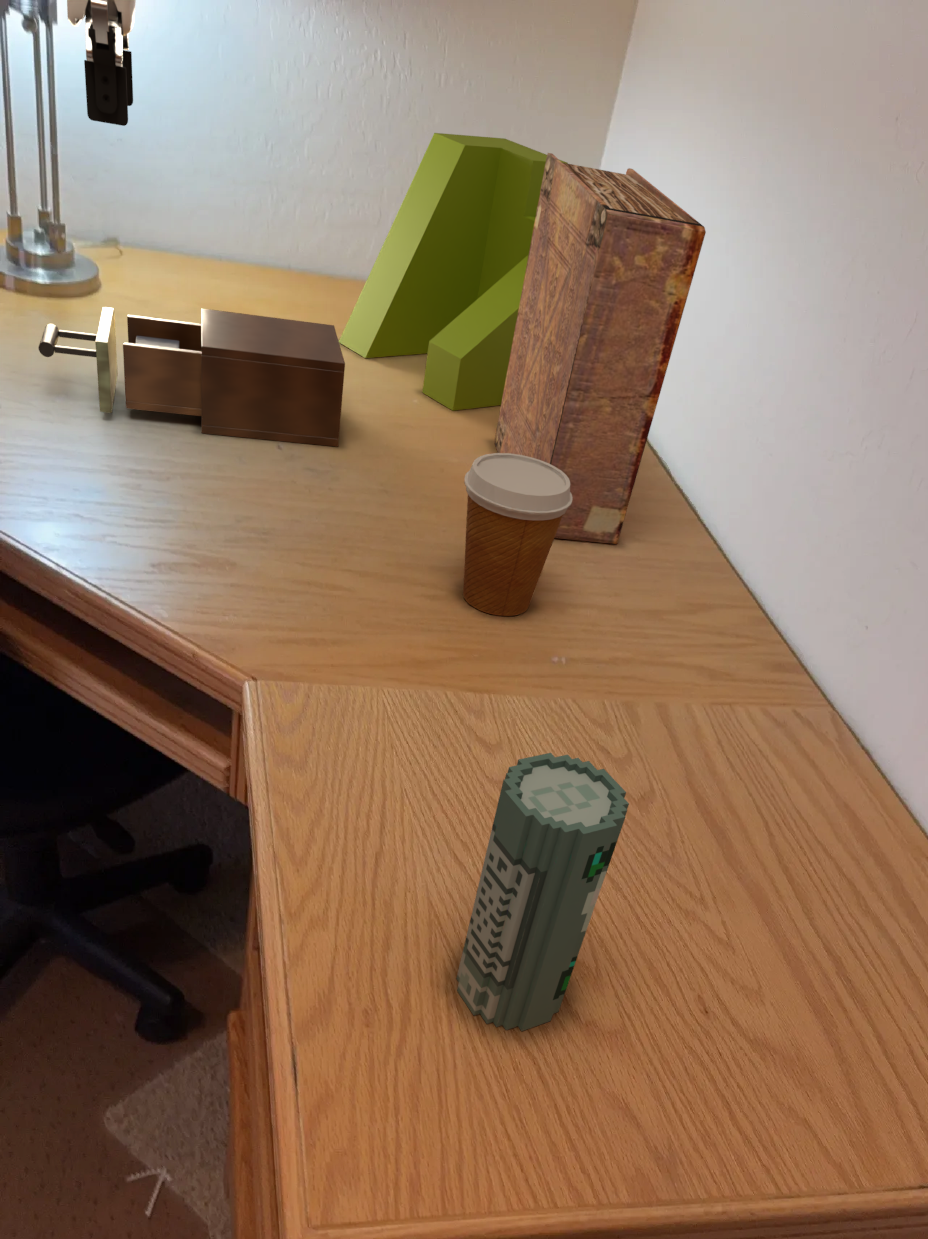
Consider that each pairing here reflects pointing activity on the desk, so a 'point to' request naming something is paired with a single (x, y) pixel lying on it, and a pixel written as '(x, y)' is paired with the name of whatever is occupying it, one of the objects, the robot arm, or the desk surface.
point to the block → (157, 342)
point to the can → (538, 887)
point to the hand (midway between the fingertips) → (111, 111)
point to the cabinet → (270, 378)
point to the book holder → (454, 268)
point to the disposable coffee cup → (510, 529)
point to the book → (596, 335)
